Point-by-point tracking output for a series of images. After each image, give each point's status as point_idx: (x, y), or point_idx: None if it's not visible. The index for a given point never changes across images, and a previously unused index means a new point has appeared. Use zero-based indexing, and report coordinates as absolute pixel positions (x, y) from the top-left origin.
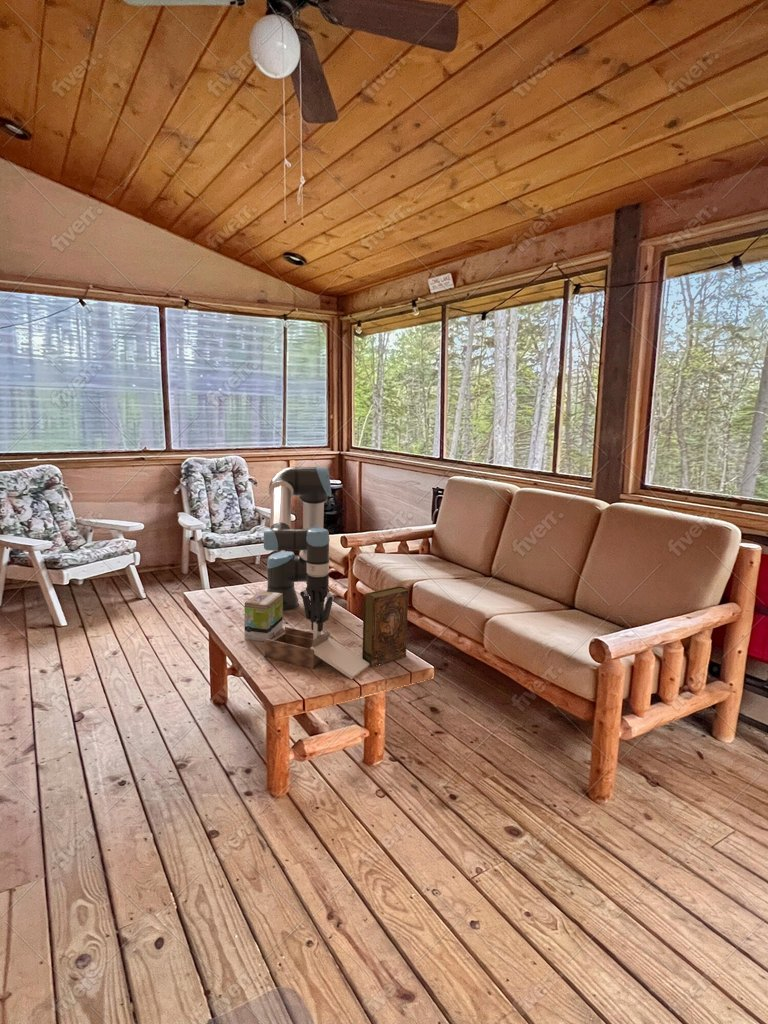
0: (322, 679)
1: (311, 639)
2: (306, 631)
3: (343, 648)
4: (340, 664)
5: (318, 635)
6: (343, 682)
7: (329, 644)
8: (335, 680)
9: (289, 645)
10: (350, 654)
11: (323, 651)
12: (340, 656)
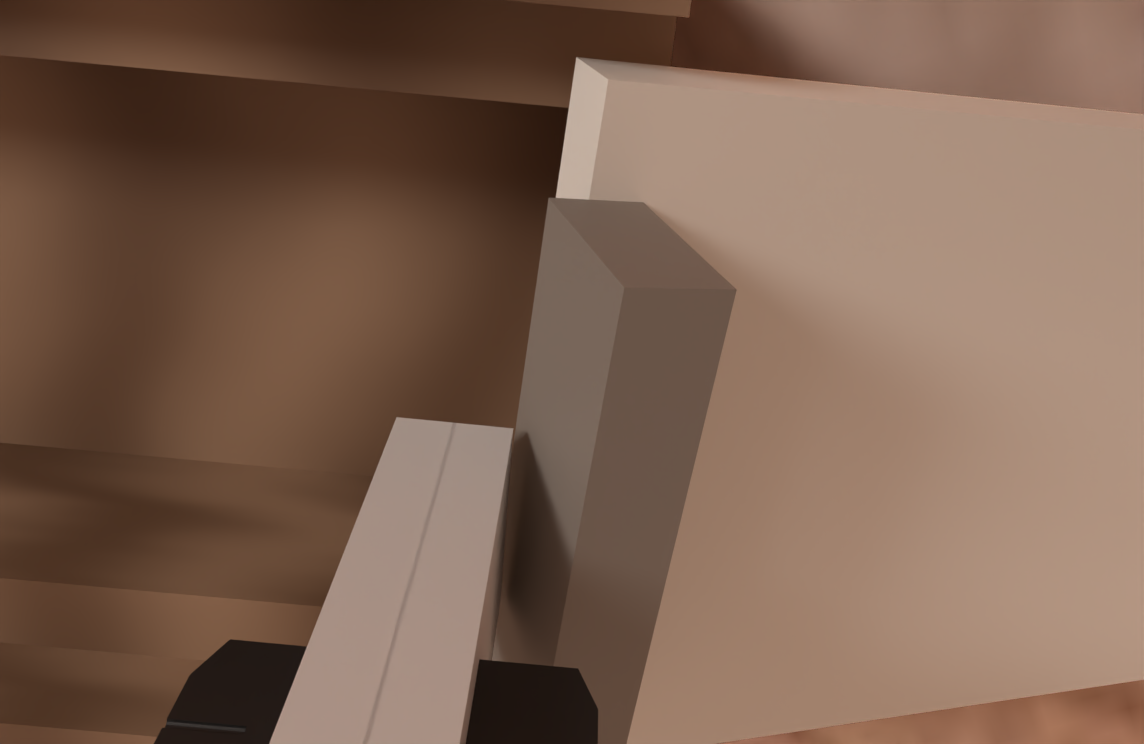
0: (834, 727)
1: (102, 61)
2: None
3: (1076, 198)
4: (1092, 630)
5: (492, 624)
6: (1129, 711)
7: (760, 365)
8: (1010, 701)
9: (29, 732)
10: None
11: (745, 641)
12: (1060, 475)
